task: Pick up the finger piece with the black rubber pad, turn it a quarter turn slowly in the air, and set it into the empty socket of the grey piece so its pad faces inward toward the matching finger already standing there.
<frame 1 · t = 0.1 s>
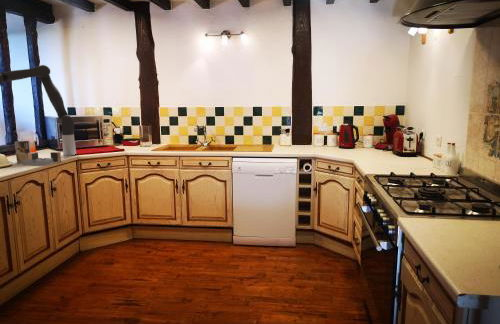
grey piece: (39, 163, 272), on the countertop
coffee box: (24, 162, 276), on the countertop
finger: (56, 161, 282), on the countertop
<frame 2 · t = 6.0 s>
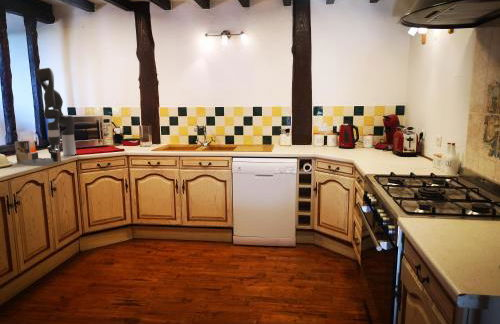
hand: (55, 158, 282), 2 cm above the countertop, tool pointing down, fingers closed on finger, 3 cm apart
finger: (56, 161, 282), on the countertop, touching gripper
everything else where it was.
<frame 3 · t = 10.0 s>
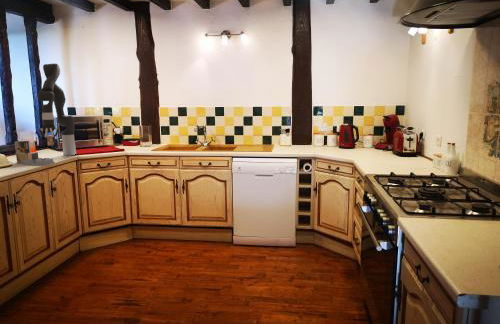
hand: (50, 141, 276), 15 cm above the countertop, tool pointing down, fingers closed on finger, 3 cm apart
finger: (50, 144, 276), point 13 cm above the countertop, touching gripper
everything else where it was.
when the fingers open (5 cm above the countertop, at t = 13.9 s): finger drops 2 cm, resting on grey piece.
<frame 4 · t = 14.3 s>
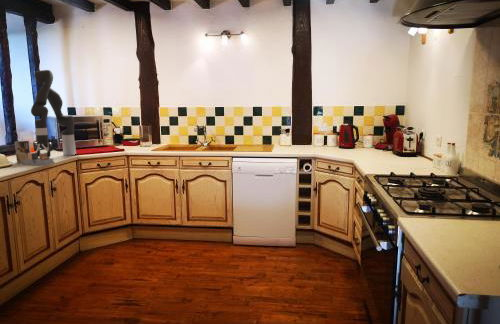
hand: (43, 156, 270), 5 cm above the countertop, tool pointing down, fingers open, 7 cm apart
finger: (44, 162, 271), point 1 cm above the countertop, touching grey piece
everything else where it was.
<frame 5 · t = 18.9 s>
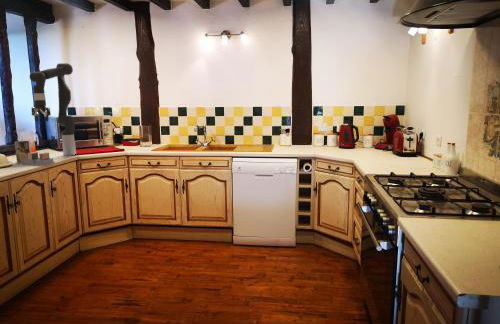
hand: (41, 121, 280), 30 cm above the countertop, tool pointing down, fingers open, 8 cm apart
nothing on the countertop moved.
at the end: finger 0.2 cm from the target spot on the grey piece, point 1.0 cm above the grey piece's base; finger tilted 0°; the gripper is holding nothing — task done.
